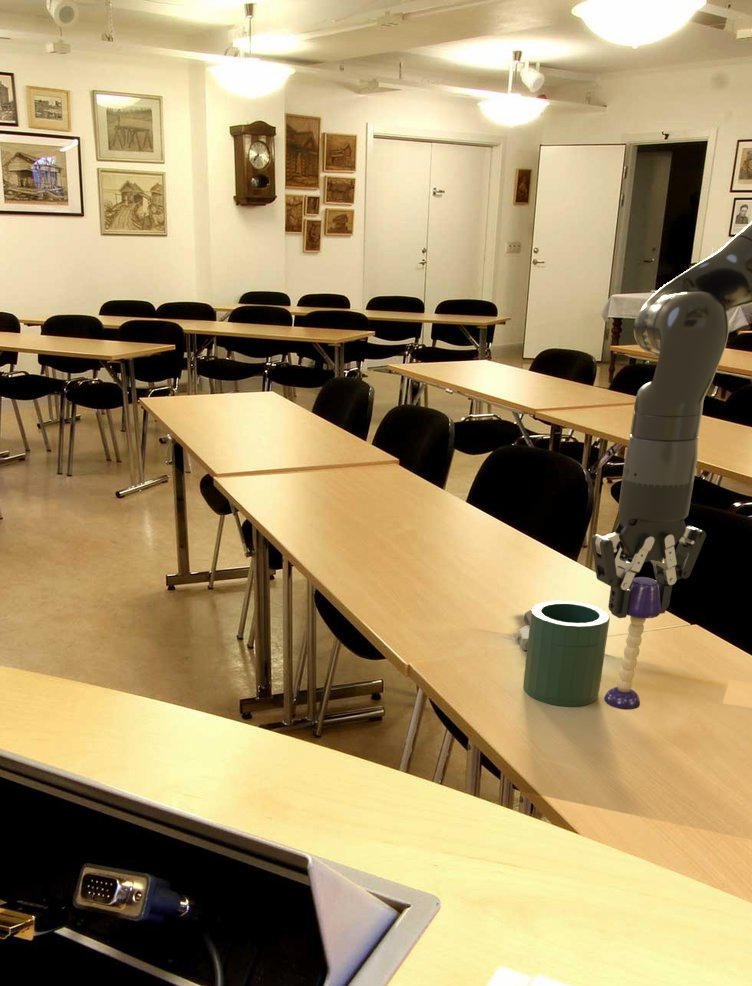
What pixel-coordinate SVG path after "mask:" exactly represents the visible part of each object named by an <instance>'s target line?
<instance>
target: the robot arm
mask: <svg viewBox="0 0 752 986" xmlns="http://www.w3.org/2000/svg"><path fill="white" fill-rule="evenodd" d="M749 304H752V221H751V222H750V223H749V224H748V225H747V226H745V227H744V228H743V229H742V230H741V231H739V232H738V233H737V234H736V235H735V236H734V237H732V238H731V239H729V241H728V242H726V244H725V245H724V246H723V247H721V248H720V249H718V251H716V252H715V253H713V254H711V255H710V256H708V257H707V258H705V259H703V260H702V261H700V262H699V263H697V264H695V265H693V266H692V267H691V268H689V269H686V271H684V272H683V273H681V274H679V275H678V276H676V277H675V278H673V279H672V280H670V281H669V282H667V283H666V284H664V285H663V286H662V287H660V288H659V289H658V290H657V291H655V293H653V294H652V295H651V296H650V297H649V298H648V299H647V300H646V301H645V303H644V304H643V305H642V307H641V308H640V309H639V311H638V313H637V315H636V316H635V317H636V318H635V320H634V323H633V335H634V340H635V341H636V343H637V345H638V346H639V348H640V349H641V350H643V351H644V352H646V353H648V354H650V355H652V356H656V357H658V359H657V363H656V366H655V370H654V373H653V377H652V380H651V381H649V382H647V383H645V384H643V385H642V386H641V387H640V388H639V389H638V390H637V393H636V396H635V401H634V405H633V411H632V418H631V419H632V420H631V427H630V435H629V440H628V444H627V446H626V451H625V455H624V463H623V469H622V477H621V485H620V492H619V493H620V494H619V500H618V508H617V509H618V515H619V520H618V523H617V525H616V527H615V529H614V532H612V533H608V534H605V535H603V536H602V535H599V534H595V535H593V536H592V538H591V548H592V554H593V561H594V568H595V576H596V579H597V580H598V581H600V582H602V583H603V584H605V585H606V586H609V587H610V591H609V598H608V605H607V607H608V611H610V613H611V615H612V616H614V617H615V618H618V619H625V618H627V616H628V615H627V610H628V603H629V596H630V590H629V589H628V588H629V587H630V585H631V583H632V580H633V579H634V578H635V576H636V575H637V574H638V573H640V571H641V570H642V567H643V565H644V563H647V562H650V563H651V564H652V566H653V567H652V568H653V573H654V578H655V579H656V581H657V582H658V585H659V594H660V605H661V612H660V614H659V615H661V614H662V615H663V614H665V613H666V611H667V609H668V608H669V606H670V604H671V598H672V597H671V596H672V590H673V585H675V584H676V582H677V581H679V580H680V579H688V578H689V577H691V574H692V571H693V568H694V567H695V565H696V561H697V559H698V557H699V554H700V552H701V549H702V547H703V546H704V545H703V544H704V542H705V540H706V538H707V532H706V531H704V530H702V529H700V528H697V527H694V526H692V525H687V526H686V523H685V519H686V518H687V517H688V516H689V512H690V507H691V502H692V501H691V500H692V495H693V488H694V484H695V483H694V482H695V477H696V470H697V464H698V453H699V452H698V451H699V450H698V449H699V447H698V446H699V445H698V444H699V437H700V436H699V435H700V428H701V422H702V417H703V410H704V409H703V408H704V400H705V397H706V396H707V393H708V391H709V389H710V387H711V385H712V382H713V380H714V378H715V375H716V372H717V370H718V368H719V365H720V362H721V360H722V358H723V355H724V352H725V349H726V347H727V342H728V338H729V333H730V319H729V318H730V317H729V311H731V310H734V309H735V308H738V307H740V306H741V307H742V306H745V305H749ZM617 545H618V546H619V548H617ZM676 545H677V546H676ZM675 547H676V549H675ZM615 553H617V554H616V555H615ZM629 560H631V561H629Z"/></svg>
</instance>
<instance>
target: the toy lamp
mask: <svg viewBox="0 0 752 986" xmlns="http://www.w3.org/2000/svg"><path fill="white" fill-rule="evenodd" d="M656 580H657V579H656ZM656 580H655V579H654V578H650V577H646V576H637V577H634V578H633V580H632V583H631V585H630V587H629V588H628V589H629V590H630V596H629V603H628V610H627V616H629V617H630V623H629V624H628V628H627V631H628V634H627V635H626V636H627V637H626V640H625V643H626V645H625V646H624V649H623V655H624V656H623V657H622V659H621V668H620V670H619V679H618V681H617V683H616V685H617V686H613V687H612V688H610V689H609V690H608V691H606V694H605V695H604V697H603V701H604V702H605V703H606V704H607V705H608V706H610V707H611V708H615V709H617V710H618V709H619V710H624V711H625V710H626V711H631V710H636V709H638V708H639V707H640V705H641V700H640V697H639V694H638V693H637V692H636V690H634V689H632V687H633V679H634V677H635V674H636V672H635V669H636V667H637V665H638V659H637V658H638V657H639V655H640V646H641V644H642V641H643V640H642V639H643V638H642V635H643V634H644V631H645V626H644V624H645V622H646V619H654V618H657V617H659V615H661V614H660V612H661V605H660V594H659V585H658V582H657V581H656Z"/></svg>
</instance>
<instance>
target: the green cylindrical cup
mask: <svg viewBox="0 0 752 986" xmlns="http://www.w3.org/2000/svg"><path fill="white" fill-rule="evenodd" d="M530 610H531V618H530V627H529V636H528V645H527V650H526V654H525V655H526V656H525V663H524V673H523V685H522V688H523V691H524V692H525V693H526V694H527V695H528V696H529V697H530V698H532V699H535V700H537V701H539V702H542V703H544V704H548V705H554V706H558V707H560V706H561V707H580V706H586V705H590V704H592V703H594V702H595V701H596V700H597V699H598V697H599V692H600V688H601V682H602V674H603V668H604V661H605V654H606V647H607V639H608V633H609V627H610V619H611V617H610V614H609V613H608V612H607V611H605V610H604V609H603V608H600V607H598V606H595V605H592V604H589V603H584V602H579V601H574V600H573V601H571V600H550V601H549V600H548V601H544V602H540V603H538V604H537V603H536V604H535V605H534V606H533V607H532V608H531V609H530Z"/></svg>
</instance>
